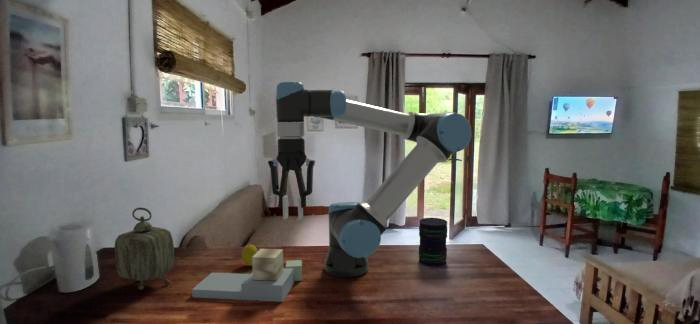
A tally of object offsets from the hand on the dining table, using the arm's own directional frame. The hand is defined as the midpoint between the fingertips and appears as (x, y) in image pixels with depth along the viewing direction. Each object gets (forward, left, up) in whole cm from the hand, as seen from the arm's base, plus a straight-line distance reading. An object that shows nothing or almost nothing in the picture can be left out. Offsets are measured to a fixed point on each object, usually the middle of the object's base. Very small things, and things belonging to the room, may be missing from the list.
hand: (293, 218), depth 107 cm
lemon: (+21, -18, -23) cm, 36 cm away
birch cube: (+8, 0, -18) cm, 20 cm away
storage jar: (-43, -28, -23) cm, 56 cm away
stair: (+15, 0, -23) cm, 27 cm away
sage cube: (+3, -10, -23) cm, 25 cm away
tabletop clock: (+47, +1, -23) cm, 52 cm away
